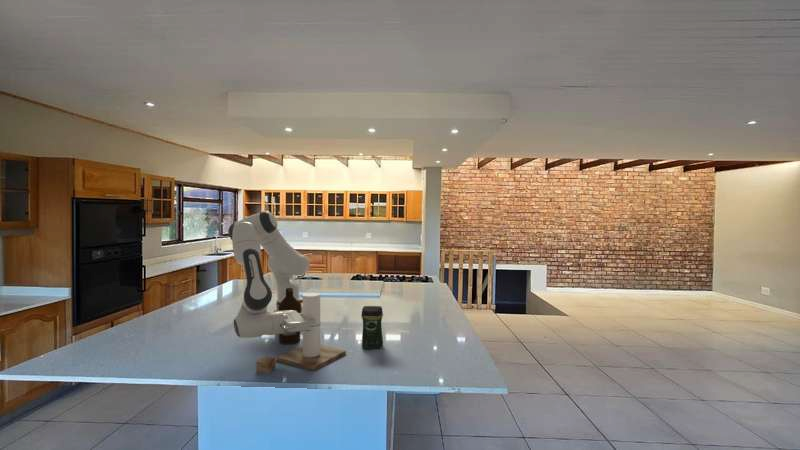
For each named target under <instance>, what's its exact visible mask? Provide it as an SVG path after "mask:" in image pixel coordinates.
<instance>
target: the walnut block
mask: <svg viewBox="0 0 800 450" xmlns="http://www.w3.org/2000/svg"><path fill="white" fill-rule="evenodd" d="M276 362H277V357H271V356H263V357H261V358H260V359H258V360H256V362H255V363H256V365H255V366H256V372H259V373H267V374H268V373H270V372H271V371H273V370H274V369H276V367H277V366H276V365H277V364H276Z"/></svg>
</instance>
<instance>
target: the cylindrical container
mask: <svg viewBox="0 0 800 450" xmlns="http://www.w3.org/2000/svg"><path fill="white" fill-rule="evenodd" d="M302 299H303V303H302V306H303V318H304V319H305V320H311V319H315V320H316V324H312V325H309V326H307V330H305V331H302V346H303V356H305V357H315V356H318V355H320V345H321V293H320V292H319V293H318V292H306V293H303V294H302Z"/></svg>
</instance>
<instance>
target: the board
mask: <svg viewBox="0 0 800 450" xmlns="http://www.w3.org/2000/svg"><path fill="white" fill-rule="evenodd" d="M346 351H347V350H344V349H341V348H336V347H332V346H331V347H330V346H326V345H321V344H320V355H318V356H315V357H305V356H303V345H302V346H299V347H297V348H294V349H293V350H290V351H288V352H286V353H283V354H281V355H279V356H276V362H279V363H283V364H286V365H290V366H294V367H298V368H302V369H306V370H307V371H308V370H309V371H313V372H315V371H317V370H319V369H320V368H322V367H324V366H326V365H328V364H330V363H332V362H334V361H335V360H338V359H339V358H341V357H343V356H345V355H346V354H347V352H346Z"/></svg>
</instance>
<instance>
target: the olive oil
mask: <svg viewBox="0 0 800 450" xmlns="http://www.w3.org/2000/svg"><path fill="white" fill-rule="evenodd" d="M301 305H302V304H301ZM301 305H300V303H299V302H298V301H297V300H296V299H295V298H294V297H293V288H286V297H285V298H284V299H283V300H282V301H281V303H280V304H279V306H278V310H279V311H284V310H295V311H297V312H298V313H301ZM278 340H279V341H278V342H279V343H280V345H294V344H297V343H299V342H300V341H301V331H298V332H288V331H286V330H284V333H282V334H278Z"/></svg>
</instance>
